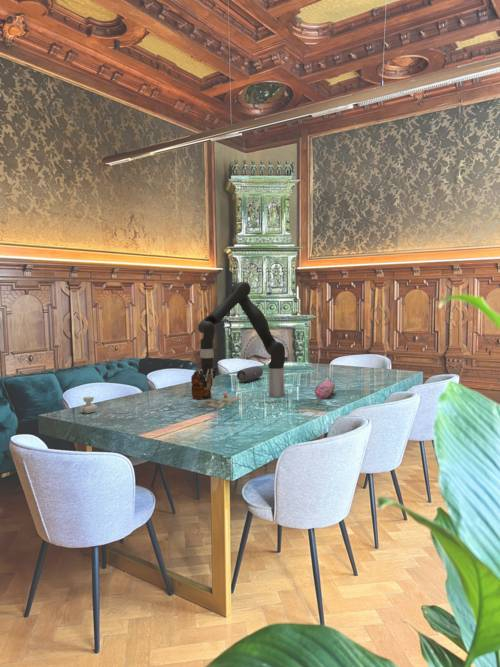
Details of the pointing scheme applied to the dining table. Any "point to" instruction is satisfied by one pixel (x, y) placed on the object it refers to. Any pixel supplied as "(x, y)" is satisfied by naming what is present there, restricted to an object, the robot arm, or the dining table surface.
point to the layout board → (216, 403)
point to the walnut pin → (208, 383)
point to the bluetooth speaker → (249, 374)
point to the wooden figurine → (199, 388)
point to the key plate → (229, 397)
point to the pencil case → (324, 389)
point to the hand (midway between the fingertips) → (207, 386)
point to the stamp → (88, 405)
